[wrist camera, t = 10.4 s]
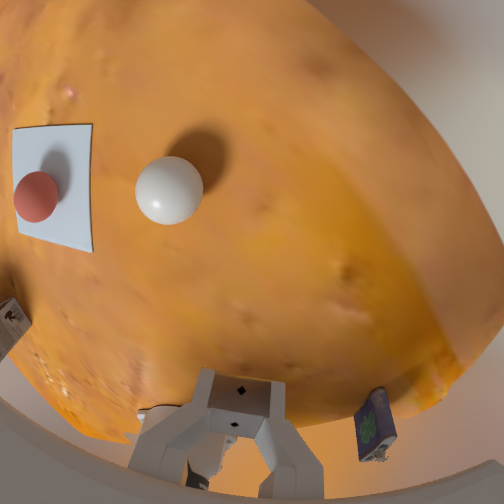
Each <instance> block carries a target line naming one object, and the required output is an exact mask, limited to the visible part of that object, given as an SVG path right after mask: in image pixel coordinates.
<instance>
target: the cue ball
mask: <svg viewBox="0 0 504 504" xmlns="http://www.w3.org/2000/svg"><path fill="white" fill-rule="evenodd" d="M135 194H136V200H137V203H138V206H139V208H140V209H141V211H142V212H143V213H144V215H145V216H147V217H148V218H149V219H151V220H152V221H154V222H157V223H159V224H165V225H171V224H177V223H180V222H182V221H184V220H186V219H188V218H189V217H190V216H192V215H193V213H194V212H195V211H196V210H197V208H198V207H199V205H200V203H201V200H202V196H203V183H202V179H201V176H200V174H199V172H198V170H197V169H196V168H195V167H194V166H193V165H192V164H191V163H190V162H188V161H187V160H185V159H183V158H180V157H175V156H166V157H161V158H158V159H156V160H154V161H152V162H151V163H149V164H148V165H147V166H146V167H145V168H144V169H143V170H142V172H141V173H140V175H139V177H138V180H137V183H136V188H135Z"/></svg>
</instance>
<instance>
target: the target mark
mask: <svg viewBox="0 0 504 504" xmlns="http://www.w3.org/2000/svg"><path fill="white" fill-rule="evenodd" d="M91 137H92V125H63V126H45V127H33V128H22V129H14V130H13V145H12V160H13V185H14V193H15V189H16V187H17V185H18V183H19V182H20V180H21V179H22V178H23V177H24V176H26V175H27V174H29V173H31V172H35V171H41V172H44V173H47V174H48V175H50V176H51V177H52V178H53V180H54V181H55V183H56V185H57V188H58V202H57V205H56V208H55V210H54V211H53V213H52V214H51V215H50V216H49V217H48V218H47V219H45V220H44V221H41V222H37V223H31V222H28V221H25V220H24V219H22V218H21V217H20V216H19V214H18V213H17V211H16V216H17V223H18V230H19V233H21V234H25V235H28V236H32V237H35V238H39V239H42V240H46V241H49V242H53V243H57V244H60V245H64V246H68V247H71V248H75V249H79V250H83V251H86V252H90V253H93V246H92V233H91V216H90V154H91Z"/></svg>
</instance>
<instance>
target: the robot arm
mask: <svg viewBox="0 0 504 504" xmlns="http://www.w3.org/2000/svg"><path fill="white" fill-rule="evenodd" d="M137 417H138V418H139V420H140V421H141V423H142V425H141V428H140V431H139V435H138V438H137V441H136V445H135V449H134V452H133V454H132V457H131V460H130V462H129V465H128V468H125V467H123V466H120V465H117V464H115V463H113V462H110V461H108V460H105V459H103V458H101V457H99V456H96V455H94V454H92V453H90V452H88V451H86V450H84V449H82V448H80V447H78V446H76V445H74V444H72V443H70V442H68V441H66V440H64V439H63V438H61V437H59V436H57V435H56V434H54V433H52V432H51V431H49V430H47V429H46V428H44V427H42V426H41V425H39V424H38V423H36V422H34V421H33V420H31V419H30V418H28V417H27V416H26V415H24V414H23V413H21V412H20V411H18V410H17V409H16V408H14V407H13V406H11V405H10V404H9V403H7V402H6V401H5V400H3V399H2V398H1V397H0V504H504V466H503V465H502V464H501V463H499V462H498V461H496V460H494V459H491V460H487V461H485V462H483V463H481V464H478V465H476V466H473V467H471V468H469V469H466V470H464V471H461V472H458V473H456V474H453V475H450V476H447V477H444V478H441V479H437V480H434V481H431V482H427V483H424V484H420V485H416V486H412V487H408V488H404V489H399V490H394V491H389V492H384V493H378V494H371V495H364V496H357V497H347V498H336V499H324V476H323V475H324V474H323V466H322V465H321V463H320V462H319V461H318V459H317V458H316V457H315V455H314V454H313V452H312V451H311V450H310V449H309V447H308V446H307V444H306V443H305V442H304V440H303V439H302V437H301V436H300V435H299V433H298V432H297V430H296V429H295V428H294V426H293V425H292V423H291V422H290V421H289V420H285V382H280V381H273V380H268V379H261V378H255V377H248V376H240V375H235V374H230V373H226V372H221V371H217V370H213V369H208V368H204V367H202V369H201V371H200V374H199V377H198V381H197V384H196V388H195V391H194V395H193V398H192V402H191V403H186V404H184V405H183V406H182V407H175V406H157V407H154V408H152V409H150V410H138V413H137ZM238 436H240V437H246V438H252V439H254V441H255V443H256V445H257V447H258V449H259V451H260V452H261V454H262V456H263V458H264V460H265V462H266V464H267V466H268V467H269V469H270V471H271V474H270V475H269V476H268V477H267V478H266V479H265V480H264V481H263V482H262V483H261V484H260V485H259V494H258V498H254V497H244V496H236V495H229V494H223V493H217V492H211V491H208V486H209V481H208V480H209V479H210V477H212V476H214V475H216V474H217V473H218V472H220V470H221V469H222V460H223V456H224V452H225V451H226V450H227V449H228V448H229V447H230V446H232V445H233V444H234V443H235V442H236V441H237V437H238Z"/></svg>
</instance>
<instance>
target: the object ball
mask: <svg viewBox="0 0 504 504" xmlns="http://www.w3.org/2000/svg"><path fill="white" fill-rule="evenodd" d="M57 202H58V188H57V185H56V183H55V181H54V180H53V178H52V177H51V176H50V175H48V174H47V173H44V172H41V171H35V172H31V173H29V174H27V175H26V176H24V177H23V178H22V179H21V180H20V182H19V183H18V185H17V187H16V189H15V193H14V205H15V209H16V211H17V213H18V214H19V216H20V217H21V218H22V219H24V220H25V221H28V222H31V223H37V222H41V221H44V220H45V219H47V218H48V217H49V216H50V215H51V214H52V213H53V211H54V210H55V208H56V205H57Z"/></svg>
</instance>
